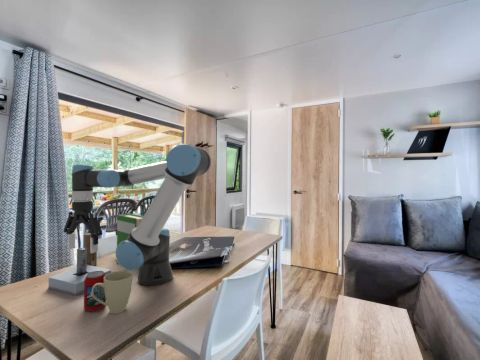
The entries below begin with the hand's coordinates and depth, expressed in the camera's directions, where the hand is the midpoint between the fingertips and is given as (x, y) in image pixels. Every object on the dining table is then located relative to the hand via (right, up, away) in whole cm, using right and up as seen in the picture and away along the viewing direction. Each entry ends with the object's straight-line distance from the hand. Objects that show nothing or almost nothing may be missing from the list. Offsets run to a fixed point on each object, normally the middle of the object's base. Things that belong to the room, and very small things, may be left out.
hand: (82, 250), depth 103 cm
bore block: (-1, -14, 0) cm, 14 cm away
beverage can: (+16, -15, -18) cm, 28 cm away
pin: (-1, -13, 0) cm, 13 cm away
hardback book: (+6, -14, +34) cm, 37 cm away
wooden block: (-8, -14, +18) cm, 24 cm away
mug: (+24, -15, -20) cm, 35 cm away
